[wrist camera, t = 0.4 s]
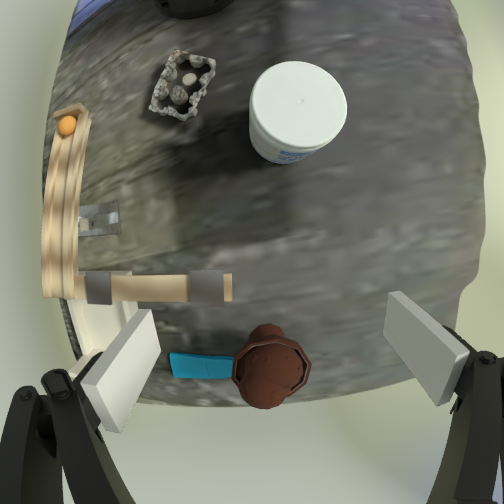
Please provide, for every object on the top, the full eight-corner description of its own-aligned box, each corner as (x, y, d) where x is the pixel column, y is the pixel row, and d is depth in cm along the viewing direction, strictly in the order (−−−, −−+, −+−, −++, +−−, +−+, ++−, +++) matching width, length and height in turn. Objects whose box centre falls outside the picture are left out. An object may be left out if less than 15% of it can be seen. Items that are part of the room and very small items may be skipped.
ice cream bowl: (283, 370, 45) (293, 433, 31) (224, 350, 44) (214, 413, 30) (312, 323, 43) (336, 380, 29) (249, 299, 42) (248, 353, 28)
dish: (71, 271, 41) (40, 288, 32) (131, 270, 41) (104, 290, 32) (92, 350, 45) (70, 376, 36) (149, 357, 45) (131, 388, 36)
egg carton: (181, 56, 34) (174, 45, 30) (223, 68, 34) (220, 57, 30) (149, 112, 36) (140, 105, 32) (192, 127, 37) (185, 120, 33)
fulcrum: (67, 208, 39) (38, 213, 31) (118, 201, 39) (92, 205, 31) (70, 236, 40) (42, 246, 32) (121, 232, 40) (96, 242, 32)
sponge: (236, 384, 45) (237, 361, 43) (172, 378, 45) (167, 355, 43) (237, 378, 47) (237, 356, 45) (173, 373, 47) (169, 350, 45)
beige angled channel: (67, 122, 32) (54, 112, 28) (228, 91, 32) (225, 73, 28) (54, 299, 31) (37, 302, 27) (232, 303, 31) (229, 309, 27)
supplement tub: (278, 177, 38) (294, 171, 24) (235, 128, 36) (226, 95, 22) (328, 138, 37) (367, 114, 22) (286, 90, 35) (303, 44, 21)
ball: (66, 120, 31) (55, 116, 28) (81, 115, 31) (70, 111, 28) (65, 138, 31) (53, 135, 28) (79, 134, 31) (68, 130, 28)
